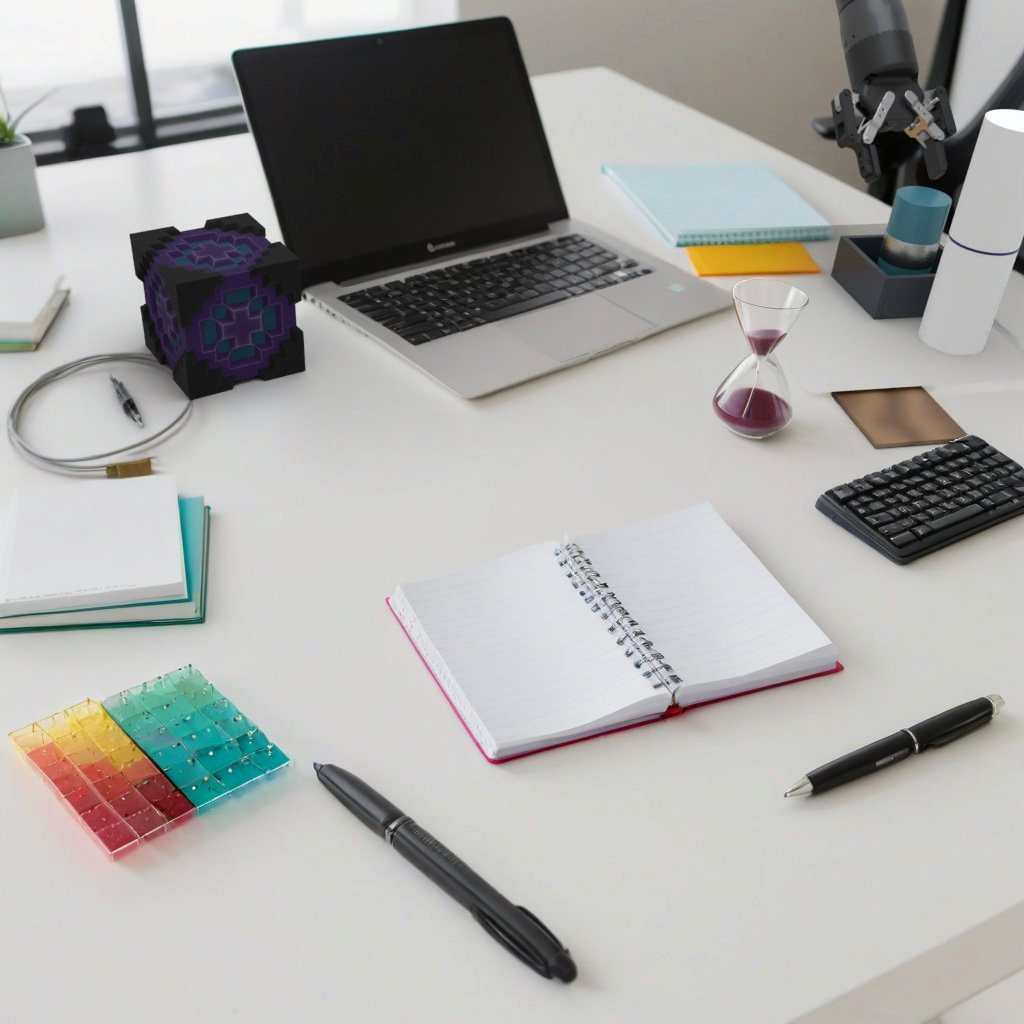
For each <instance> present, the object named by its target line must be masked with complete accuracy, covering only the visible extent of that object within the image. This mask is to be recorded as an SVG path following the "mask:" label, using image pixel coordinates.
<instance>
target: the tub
mask: <svg viewBox="0 0 1024 1024" xmlns="http://www.w3.org/2000/svg"><path fill="white" fill-rule="evenodd" d="M884 235H885V233H883V234H858V235H857V234H855V235H854V234H853V235H840V236H839V241H838V246H837V249H836V253H835V257H834V261H833V266H832V268H831V274H830V276H831V277H832V278H833V280H835V281H836V282H837V284H838V285H840V287H841V288H842V289H843V290H844V291H845V292H846V293H847V294H848V295H849V296H850V297H851V298H852V299H853V300H854V301H855V302H856V303H857V304H858V305H859V306H860V307H861V308H862V309H863V310H864V311H865V312H866V313H867V314H868V316H870V317H871V318H872V320H874V321H875V320H876V321H877V320H893V319H898V320H899V319H914V318H916V319H917V318H923V315H924V312H925V308H926V305H927V302H928V299H929V295H930V292H931V289H932V286H933V282H934V279H935V276H936V273H937V269H938V266H939V263H940V260H941V256H942V253H943V250H944V247H945V246H943V244H941V243H940V244H939V247H938V251H937V254H936V257H935V260H934V264H933V266H932V269H931V272H930V274H918V275H894V276H888V275H887V274H886V273H885V272H884V271H883V270H882V269H881V268H879V267H878V266H877V262H878V259H879V253H880V249H881V246H882V242H883V238H884Z"/></svg>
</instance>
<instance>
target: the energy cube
mask: <svg viewBox="0 0 1024 1024" xmlns="http://www.w3.org/2000/svg"><path fill="white" fill-rule="evenodd" d="M266 232H267V231H266V228H265V227H264V225H262V224H261V223H260V222H259V221H258V220H257V219H255V218H254V217H253V216H252V214H250V213H249V212H243V213H237V214H231V215H227V216H221V217H215V218H210V219H206V220H205V222H204V226H203V227H199V228H194V229H193V228H192V229H187V230H181V231H180V230H179V229H178V228H177V227H175V226H174V225H171V226H165V227H160V228H155V229H148V230H143V231H138V232H132V233H129V240H130V248H131V256H132V260H133V269H134V275H135V277H136V278H137V279H138V280H140V281H141V282H142V287H143V295H144V301H145V303H144V304H142V305H141V306H139V309H140V316H141V322H142V329H143V335H144V344H145V347H147V349H148V350H149V352H151V353H152V355H153V356H154V358H155V359H156V360H157V361H158V362H159V364H160V365H163V364H167V363H168V365H170V367H171V368H172V373H171V374H172V380H173V381H174V382H175V383H176V385H177V386H178V387H179V388H180V390H181V391H182V392H183V393H184V395H185V396H186V397H187V398H188V400H189V401H193V400H195V399H199V398H203V397H207V396H211V395H216V394H219V393H222V392H223V393H224V392H226V391H230V390H233V389H234V388H235V387H234V386H235V384H236V382H238V381H242V380H246V379H250V378H254V377H258V376H259V378H261V379H262V380H263V381H264V382H265V381H270V380H273V379H277V378H281V377H285V376H289V375H293V374H296V373H301V372H304V371H306V353H305V337H304V335H305V333H304V330H302V329H301V328H300V327H299V326H297V324H298V323H297V310H296V305H297V304H298V303H300V302H302V300H303V297H302V280H301V279H302V278H301V277H302V276H301V259H300V258H299V257H298V256H297V254H295V253H294V252H293V251H291V249H290V248H289V247H287V246H286V245H285V244H283V243H282V242H281V241H274V242H271V241H270V240H269V239H268V238H267V233H266Z"/></svg>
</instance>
